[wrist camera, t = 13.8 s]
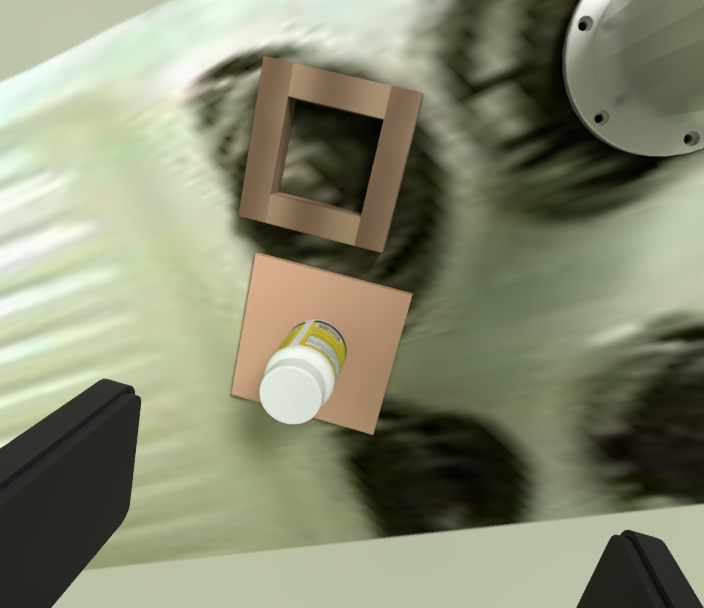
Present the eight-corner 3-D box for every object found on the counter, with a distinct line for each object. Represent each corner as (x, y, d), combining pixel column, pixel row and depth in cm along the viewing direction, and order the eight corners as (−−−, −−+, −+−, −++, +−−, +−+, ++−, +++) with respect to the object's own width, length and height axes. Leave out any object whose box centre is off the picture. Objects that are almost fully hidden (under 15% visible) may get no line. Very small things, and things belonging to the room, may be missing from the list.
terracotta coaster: (412, 293, 37) (412, 295, 37) (373, 430, 41) (373, 434, 41) (258, 252, 38) (255, 254, 38) (233, 391, 42) (231, 394, 41)
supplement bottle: (292, 376, 40) (258, 431, 32) (283, 319, 39) (245, 362, 31) (351, 373, 39) (332, 429, 31) (344, 315, 38) (322, 358, 30)
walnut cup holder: (423, 96, 34) (422, 93, 32) (385, 247, 37) (382, 253, 35) (273, 61, 34) (263, 55, 32) (249, 212, 38) (238, 215, 36)
